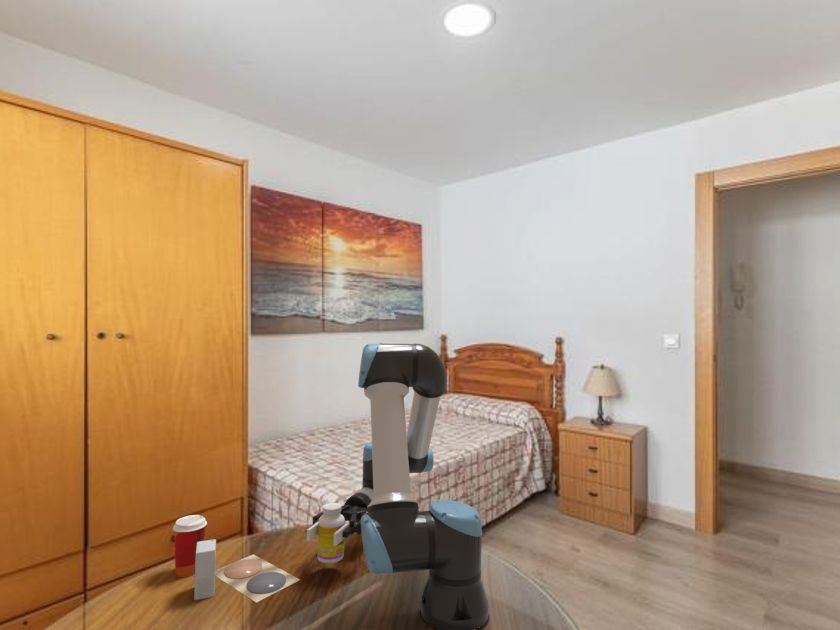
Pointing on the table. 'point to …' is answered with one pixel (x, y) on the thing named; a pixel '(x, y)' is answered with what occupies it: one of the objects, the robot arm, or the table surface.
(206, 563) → the skincare box
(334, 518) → the supplement bottle
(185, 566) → the paper cup
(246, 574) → the terracotta pad
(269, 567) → the birch board
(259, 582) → the slate pad
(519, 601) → the table surface
